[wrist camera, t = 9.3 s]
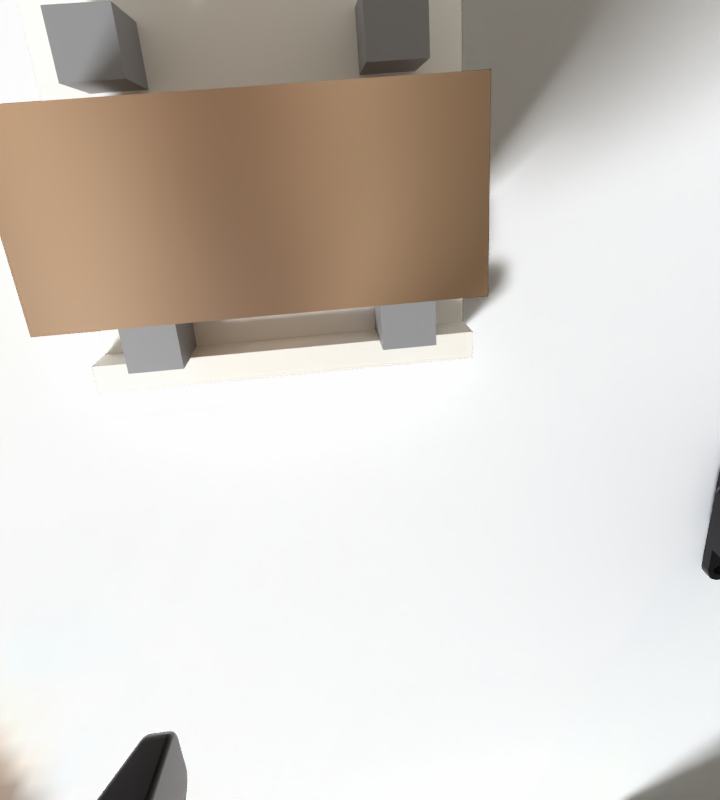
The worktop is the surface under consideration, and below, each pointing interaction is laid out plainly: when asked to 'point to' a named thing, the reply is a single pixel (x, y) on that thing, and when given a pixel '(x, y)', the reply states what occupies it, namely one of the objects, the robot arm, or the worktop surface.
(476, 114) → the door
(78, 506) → the worktop surface
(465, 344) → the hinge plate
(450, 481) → the worktop surface
